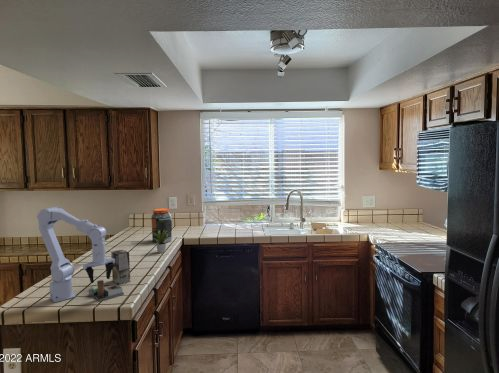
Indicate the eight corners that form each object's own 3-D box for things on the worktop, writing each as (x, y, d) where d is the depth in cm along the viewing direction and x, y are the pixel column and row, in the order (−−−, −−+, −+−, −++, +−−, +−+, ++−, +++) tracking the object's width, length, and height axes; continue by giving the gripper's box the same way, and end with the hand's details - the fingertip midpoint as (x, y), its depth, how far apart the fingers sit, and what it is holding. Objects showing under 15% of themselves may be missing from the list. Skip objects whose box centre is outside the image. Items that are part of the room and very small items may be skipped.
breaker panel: (99, 301, 171) (99, 294, 171) (89, 294, 180) (88, 287, 180) (124, 294, 179) (123, 287, 179) (112, 287, 189) (112, 281, 188)
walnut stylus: (99, 298, 172) (98, 282, 172) (97, 296, 174) (96, 281, 174) (105, 296, 174) (104, 281, 174) (103, 294, 176) (102, 279, 176)
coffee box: (130, 281, 199) (129, 252, 197) (119, 284, 194) (118, 254, 193) (123, 277, 205) (122, 249, 204) (112, 280, 201) (110, 251, 199)
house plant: (166, 255, 250) (165, 232, 249) (147, 254, 253) (146, 231, 252) (174, 250, 264) (173, 228, 263) (156, 249, 267) (156, 227, 266)
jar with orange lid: (174, 239, 301) (173, 207, 299) (168, 243, 286) (167, 210, 284) (156, 238, 303) (155, 207, 301) (149, 243, 287) (148, 210, 285)
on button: (94, 292, 177) (94, 289, 177) (91, 290, 180) (91, 287, 180) (103, 290, 180) (102, 286, 180) (99, 288, 183) (99, 285, 183)
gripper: (86, 257, 165) (87, 286, 166) (117, 251, 175) (118, 278, 176) (80, 254, 170) (82, 282, 171) (111, 248, 180) (112, 275, 181)
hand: (100, 280), depth 174 cm, fingers open, 7 cm apart
